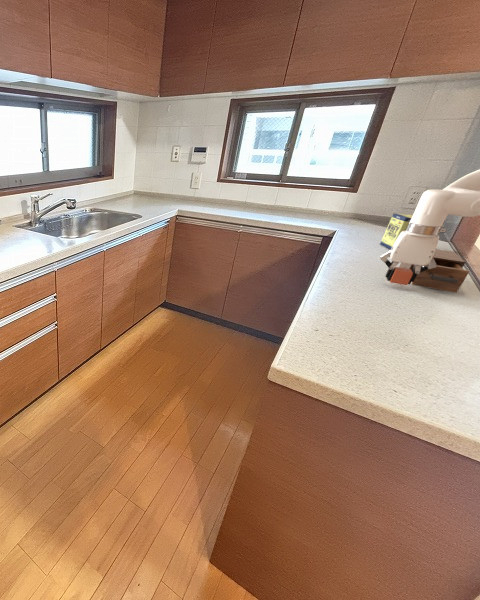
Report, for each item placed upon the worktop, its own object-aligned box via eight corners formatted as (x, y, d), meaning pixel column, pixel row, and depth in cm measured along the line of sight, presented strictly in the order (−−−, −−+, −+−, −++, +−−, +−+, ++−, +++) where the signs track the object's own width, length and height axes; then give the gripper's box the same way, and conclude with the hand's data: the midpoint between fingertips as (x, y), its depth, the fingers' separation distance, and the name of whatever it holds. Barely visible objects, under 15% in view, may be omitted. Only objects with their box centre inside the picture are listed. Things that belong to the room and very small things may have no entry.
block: (405, 281, 114) (411, 269, 112) (407, 285, 110) (413, 273, 108) (388, 278, 116) (393, 266, 114) (390, 282, 113) (395, 270, 111)
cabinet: (450, 287, 116) (465, 262, 111) (404, 279, 122) (416, 254, 118) (440, 275, 126) (454, 251, 122) (398, 268, 133) (409, 245, 129)
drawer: (461, 297, 106) (474, 275, 102) (414, 289, 111) (425, 267, 108) (446, 280, 119) (457, 260, 116) (405, 273, 125) (415, 254, 121)
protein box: (378, 243, 165) (392, 213, 158) (415, 246, 162) (431, 215, 155) (390, 249, 156) (405, 217, 149) (429, 253, 153) (446, 220, 146)
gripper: (456, 231, 103) (428, 283, 112) (387, 224, 112) (366, 273, 120) (463, 236, 98) (433, 290, 106) (390, 228, 107) (367, 279, 115)
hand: (398, 280), depth 113 cm, fingers closed on block, 4 cm apart
